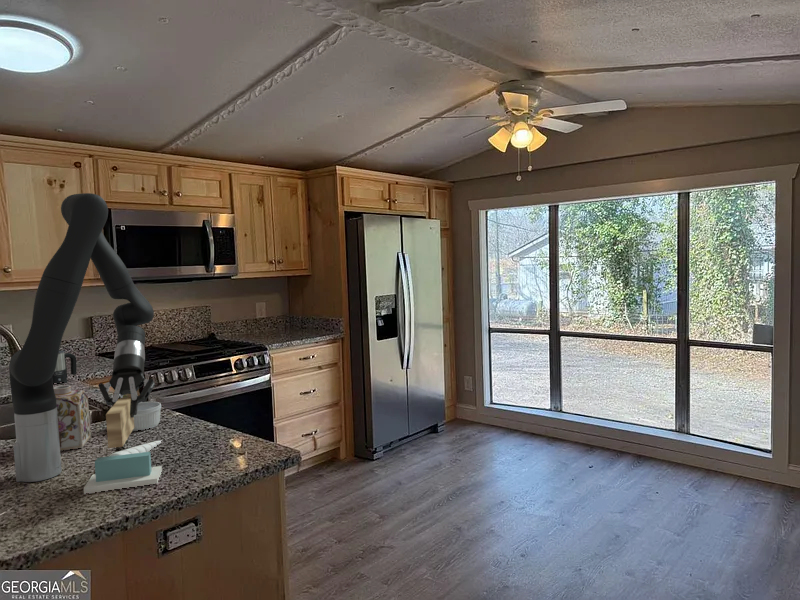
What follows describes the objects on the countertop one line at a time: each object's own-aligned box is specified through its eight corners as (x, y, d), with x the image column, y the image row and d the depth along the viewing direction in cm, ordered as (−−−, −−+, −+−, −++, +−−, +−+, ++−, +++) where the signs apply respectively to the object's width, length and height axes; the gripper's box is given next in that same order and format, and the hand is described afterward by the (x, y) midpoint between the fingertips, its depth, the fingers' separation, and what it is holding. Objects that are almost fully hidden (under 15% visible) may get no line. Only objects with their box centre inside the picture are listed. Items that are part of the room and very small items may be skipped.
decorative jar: (91, 437, 177) (87, 381, 176) (83, 448, 166) (79, 388, 165) (48, 442, 173) (44, 384, 172) (37, 454, 162) (32, 392, 161)
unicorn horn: (173, 442, 170) (172, 427, 170) (122, 472, 147) (121, 454, 146) (159, 442, 171) (158, 426, 170) (106, 471, 147) (105, 454, 147)
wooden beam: (122, 446, 131) (120, 412, 130) (108, 448, 130) (105, 414, 129) (134, 427, 146) (132, 396, 145) (121, 428, 145) (119, 398, 145)
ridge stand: (84, 494, 132) (82, 467, 132) (93, 480, 141) (91, 454, 140) (157, 484, 137) (155, 458, 136) (161, 471, 145) (160, 446, 145)
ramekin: (113, 427, 188) (112, 406, 187) (154, 418, 197) (153, 399, 196) (126, 435, 178) (124, 413, 178) (168, 426, 187) (167, 405, 186)
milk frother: (53, 385, 258) (51, 354, 257) (30, 384, 264) (27, 352, 263) (81, 379, 272) (79, 349, 271) (58, 377, 278) (56, 348, 277)
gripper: (97, 354, 147) (89, 412, 137) (155, 350, 151) (151, 405, 141) (103, 370, 153) (96, 427, 142) (159, 366, 157) (156, 420, 146)
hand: (124, 416), depth 142 cm, fingers closed on wooden beam, 3 cm apart
